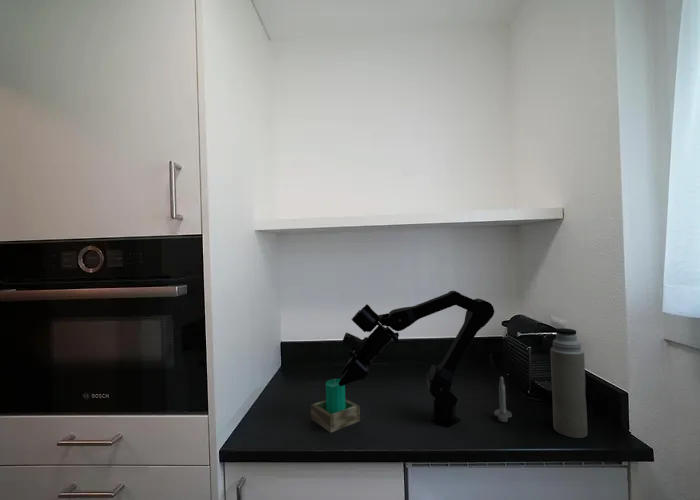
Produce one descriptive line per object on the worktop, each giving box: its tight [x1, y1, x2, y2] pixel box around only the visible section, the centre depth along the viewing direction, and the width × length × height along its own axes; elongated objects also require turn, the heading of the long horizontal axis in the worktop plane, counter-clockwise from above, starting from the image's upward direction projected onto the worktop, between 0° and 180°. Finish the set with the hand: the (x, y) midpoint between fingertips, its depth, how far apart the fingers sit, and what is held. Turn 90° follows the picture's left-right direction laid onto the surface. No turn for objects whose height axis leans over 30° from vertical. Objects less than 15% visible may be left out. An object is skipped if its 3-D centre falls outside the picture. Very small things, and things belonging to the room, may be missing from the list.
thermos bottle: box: [549, 327, 588, 439], centre depth 97 cm, size 8×8×28 cm
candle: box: [325, 378, 346, 414], centre depth 107 cm, size 6×6×12 cm
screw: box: [493, 376, 513, 423], centre depth 104 cm, size 13×5×5 cm
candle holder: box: [310, 398, 361, 433], centre depth 107 cm, size 11×11×4 cm
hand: (340, 379), depth 107 cm, fingers open, 9 cm apart
